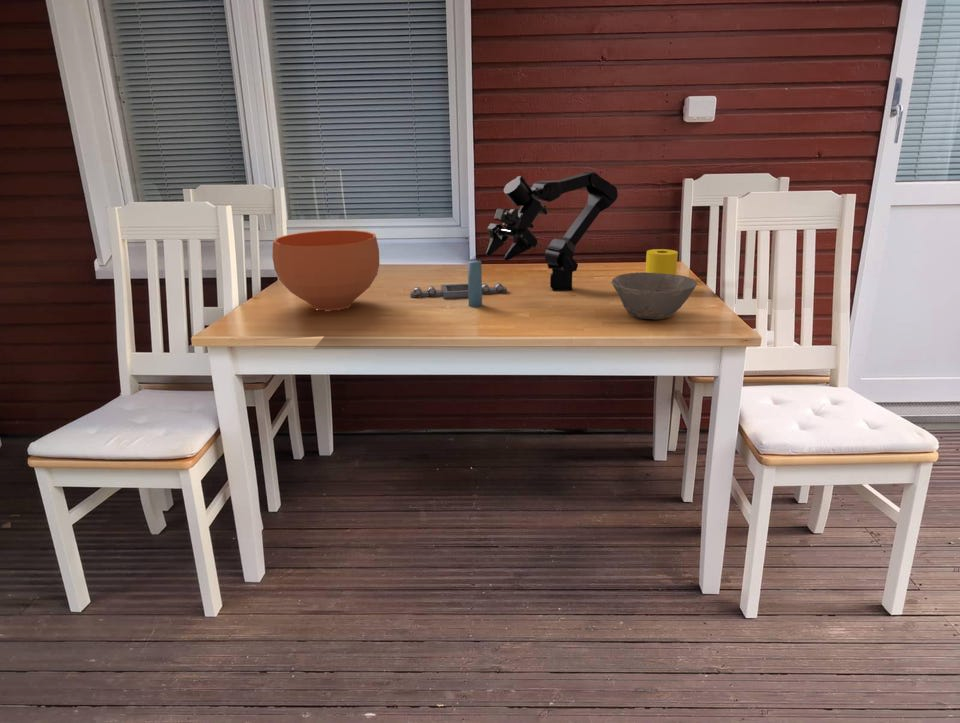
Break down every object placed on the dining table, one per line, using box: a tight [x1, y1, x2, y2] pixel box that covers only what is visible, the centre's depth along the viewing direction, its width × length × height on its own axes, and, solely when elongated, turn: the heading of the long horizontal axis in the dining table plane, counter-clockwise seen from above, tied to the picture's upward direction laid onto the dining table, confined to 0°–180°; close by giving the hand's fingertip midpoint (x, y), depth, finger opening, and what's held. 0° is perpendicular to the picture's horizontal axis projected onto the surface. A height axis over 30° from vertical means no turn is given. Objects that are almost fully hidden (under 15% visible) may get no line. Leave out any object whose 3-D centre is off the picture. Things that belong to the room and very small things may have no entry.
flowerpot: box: [272, 229, 380, 311], centre depth 192 cm, size 30×30×20 cm
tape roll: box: [644, 248, 679, 275], centre depth 219 cm, size 10×10×9 cm
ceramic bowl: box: [611, 272, 698, 321], centre depth 178 cm, size 22×23×10 cm
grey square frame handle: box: [409, 282, 508, 300], centre depth 207 cm, size 30×10×3 cm, turn 97°
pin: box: [467, 260, 483, 308], centre depth 192 cm, size 4×4×13 cm
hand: (495, 257), depth 193 cm, fingers open, 9 cm apart
